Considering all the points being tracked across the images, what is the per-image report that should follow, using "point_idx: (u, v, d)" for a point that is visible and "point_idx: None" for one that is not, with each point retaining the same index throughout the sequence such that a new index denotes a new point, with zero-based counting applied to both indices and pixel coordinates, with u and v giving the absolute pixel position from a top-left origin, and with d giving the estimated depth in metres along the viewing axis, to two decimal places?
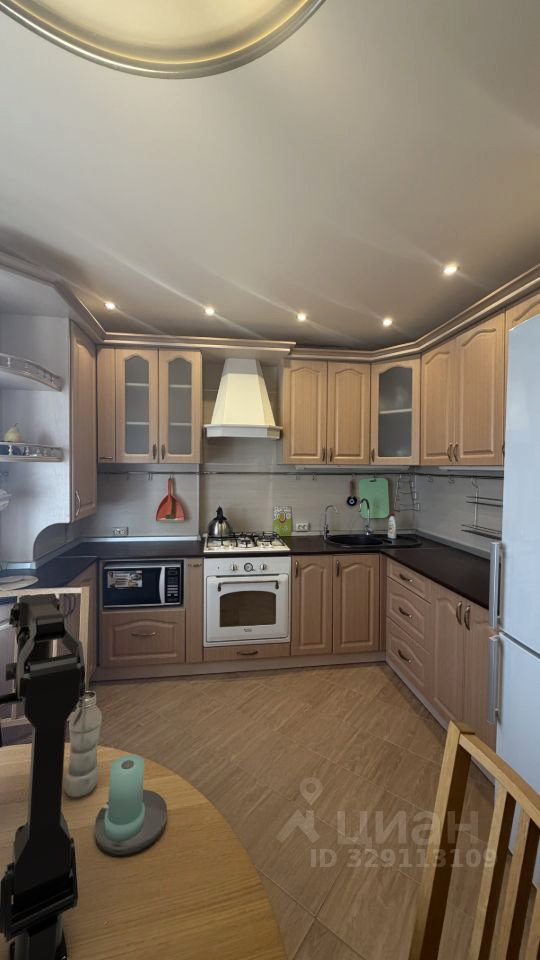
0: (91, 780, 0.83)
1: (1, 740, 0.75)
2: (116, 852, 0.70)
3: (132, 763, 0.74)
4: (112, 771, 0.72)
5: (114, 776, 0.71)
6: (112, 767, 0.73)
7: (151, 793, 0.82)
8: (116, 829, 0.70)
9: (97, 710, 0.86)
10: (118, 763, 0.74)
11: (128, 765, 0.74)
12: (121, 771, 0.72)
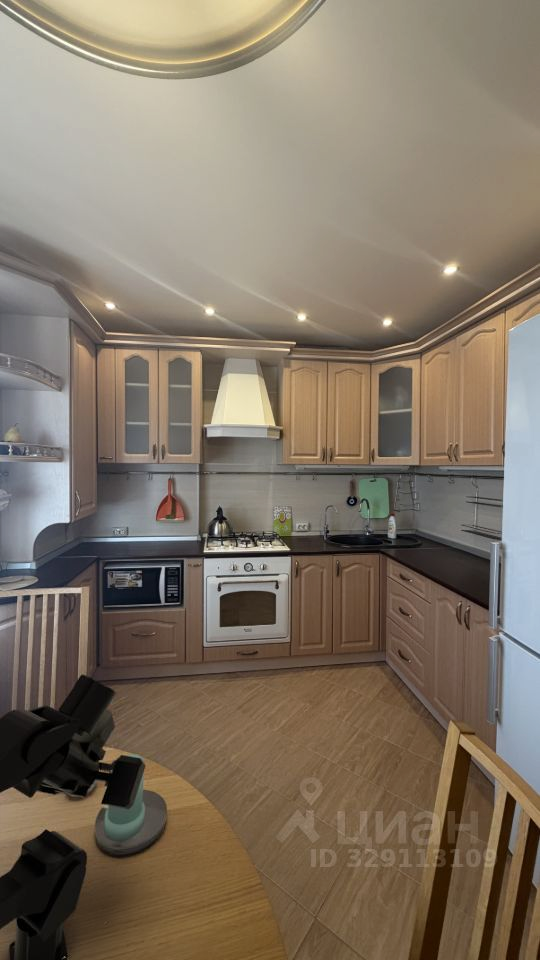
0: None
1: None
2: (116, 852, 0.70)
3: None
4: None
5: None
6: None
7: (151, 793, 0.82)
8: (116, 828, 0.71)
9: None
10: None
11: None
12: None
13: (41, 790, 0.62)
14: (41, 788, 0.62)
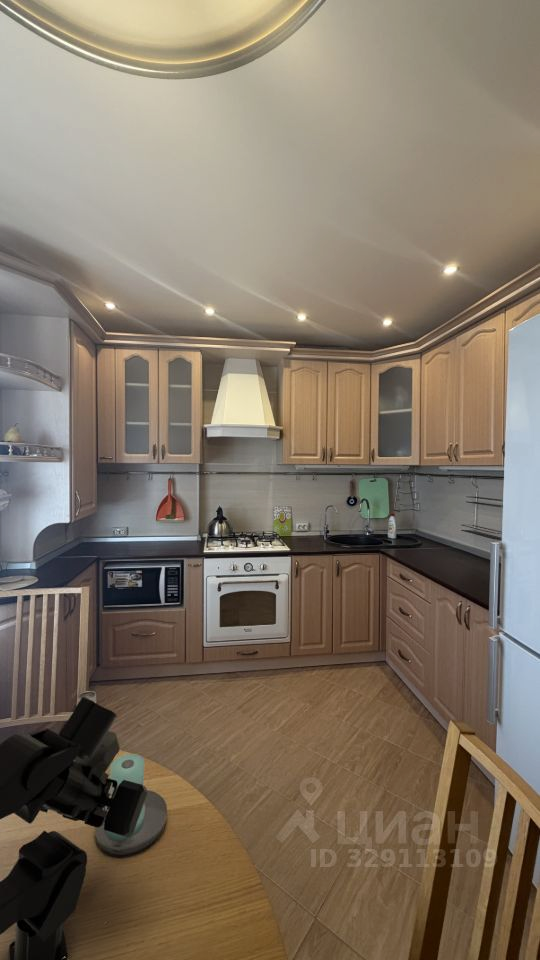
0: None
1: None
2: (116, 852, 0.70)
3: (132, 762, 0.75)
4: (112, 770, 0.73)
5: (114, 776, 0.72)
6: (112, 766, 0.74)
7: (151, 793, 0.82)
8: None
9: None
10: (118, 762, 0.75)
11: (128, 764, 0.74)
12: (122, 770, 0.73)
13: (45, 811, 0.62)
14: (45, 809, 0.62)
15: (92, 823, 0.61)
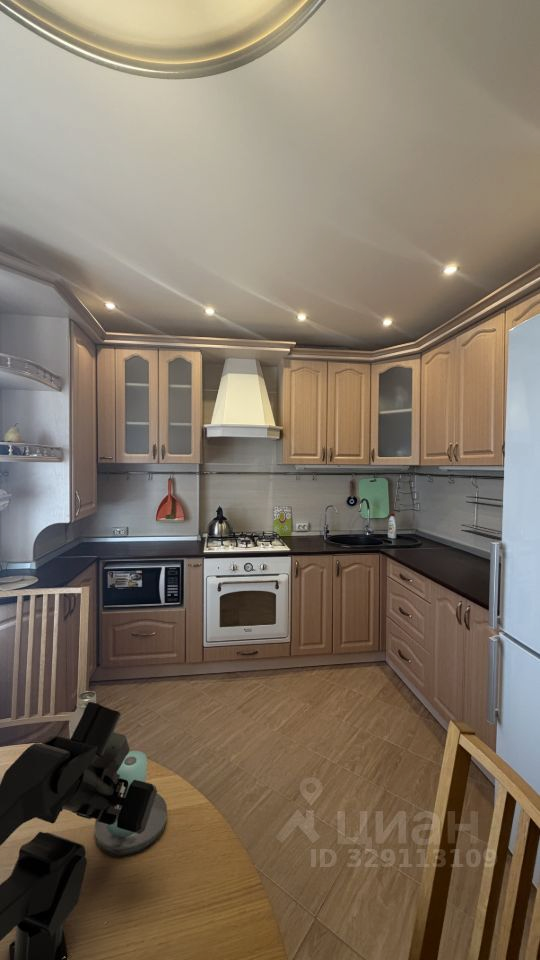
0: None
1: None
2: (116, 852, 0.70)
3: (135, 759, 0.75)
4: None
5: (117, 772, 0.73)
6: None
7: None
8: None
9: None
10: None
11: (130, 761, 0.75)
12: (124, 767, 0.74)
13: (60, 810, 0.65)
14: None
15: (105, 821, 0.65)
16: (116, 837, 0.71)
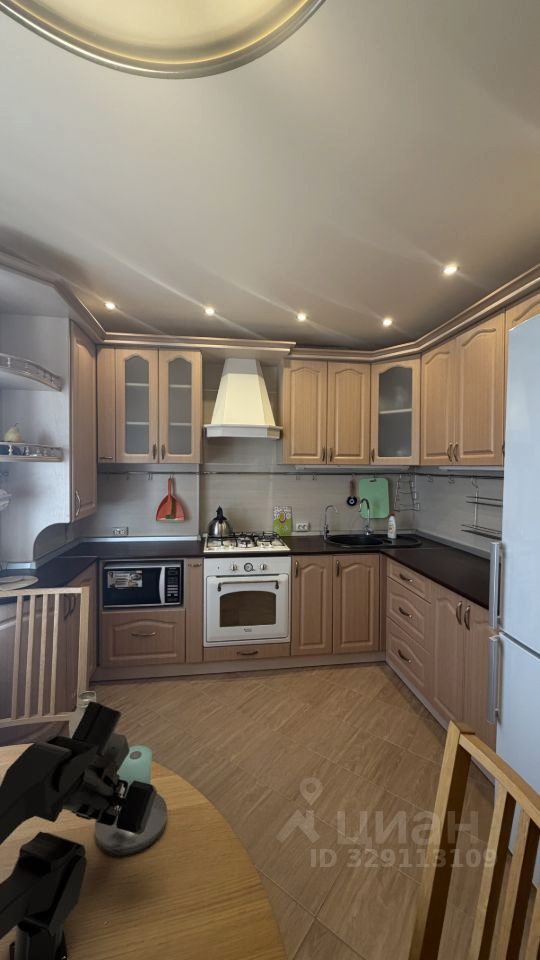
0: None
1: None
2: (116, 852, 0.70)
3: (140, 754, 0.77)
4: None
5: (123, 766, 0.74)
6: None
7: None
8: None
9: None
10: None
11: (136, 756, 0.77)
12: (130, 761, 0.75)
13: (60, 810, 0.65)
14: None
15: (105, 822, 0.65)
16: (116, 837, 0.71)
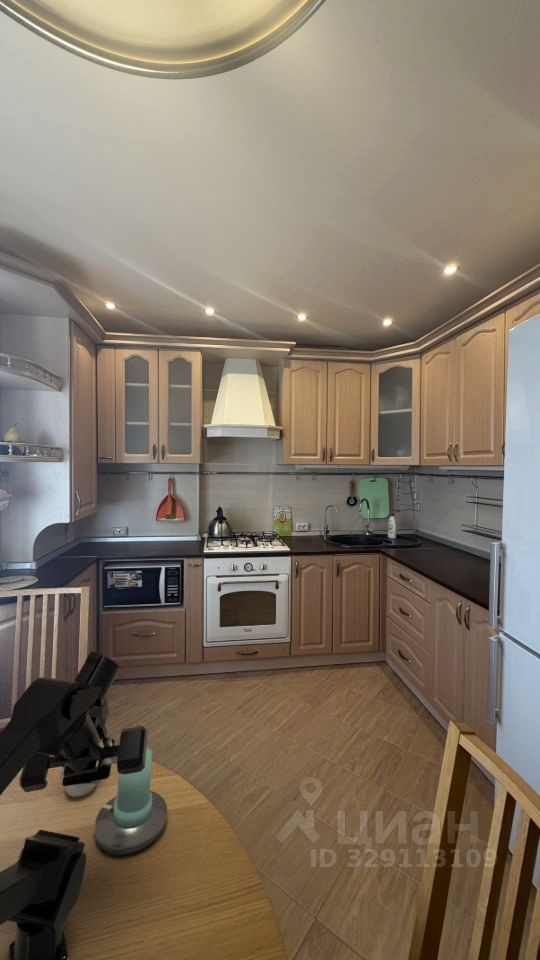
0: None
1: (94, 782, 0.68)
2: (116, 852, 0.70)
3: None
4: None
5: None
6: None
7: None
8: (125, 816, 0.73)
9: None
10: None
11: None
12: None
13: (45, 784, 0.62)
14: (45, 781, 0.62)
15: (99, 777, 0.64)
16: (116, 837, 0.71)
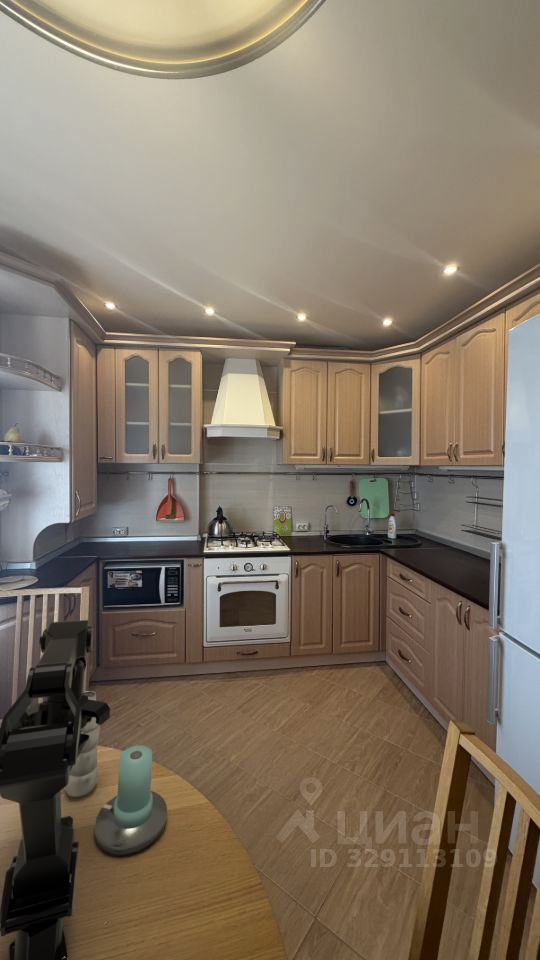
0: (91, 780, 0.83)
1: None
2: (116, 852, 0.70)
3: (140, 753, 0.77)
4: (121, 761, 0.75)
5: (124, 766, 0.74)
6: (121, 757, 0.76)
7: None
8: (126, 816, 0.73)
9: None
10: (127, 753, 0.77)
11: (136, 755, 0.77)
12: (130, 761, 0.75)
13: None
14: None
15: (83, 740, 0.71)
16: (116, 837, 0.71)
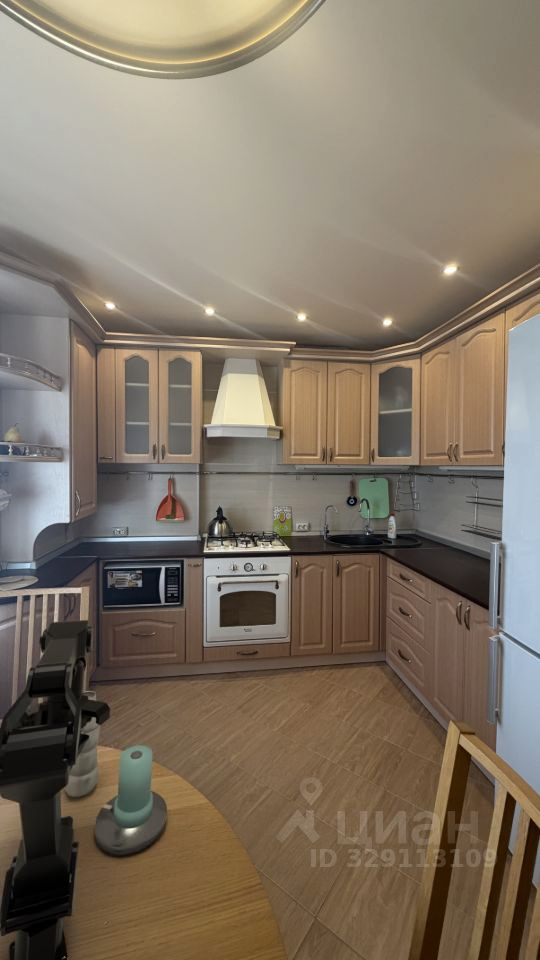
0: (91, 780, 0.83)
1: None
2: (116, 852, 0.70)
3: (141, 753, 0.77)
4: (121, 761, 0.75)
5: (124, 766, 0.74)
6: (121, 757, 0.76)
7: None
8: (126, 816, 0.73)
9: None
10: (127, 753, 0.77)
11: (136, 755, 0.77)
12: (131, 761, 0.75)
13: None
14: None
15: (83, 740, 0.71)
16: (116, 837, 0.71)
